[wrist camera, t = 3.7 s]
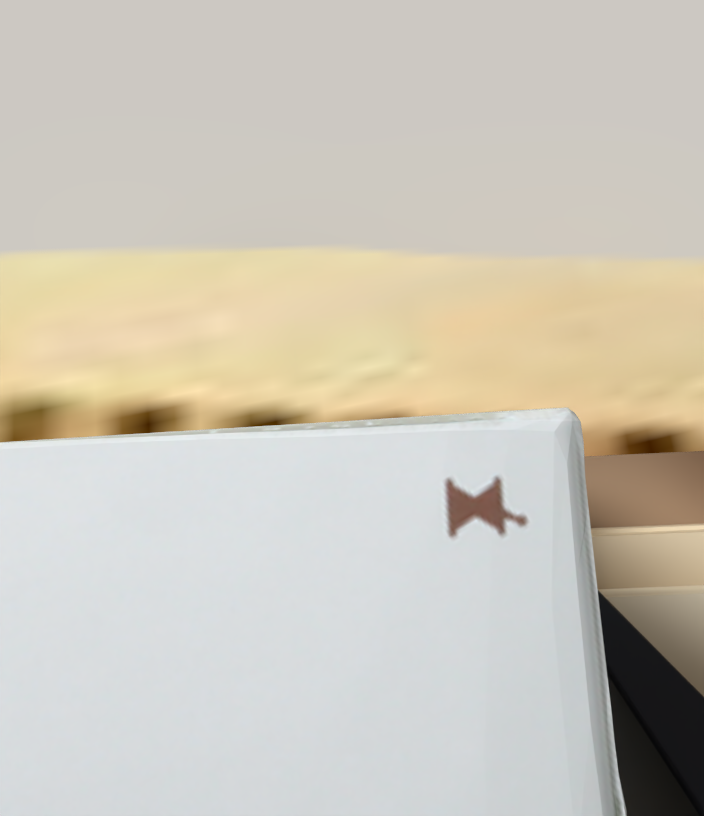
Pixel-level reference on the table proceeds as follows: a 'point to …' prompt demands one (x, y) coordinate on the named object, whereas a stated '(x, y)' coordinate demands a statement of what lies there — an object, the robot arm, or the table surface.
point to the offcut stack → (658, 587)
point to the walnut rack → (645, 489)
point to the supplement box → (305, 622)
